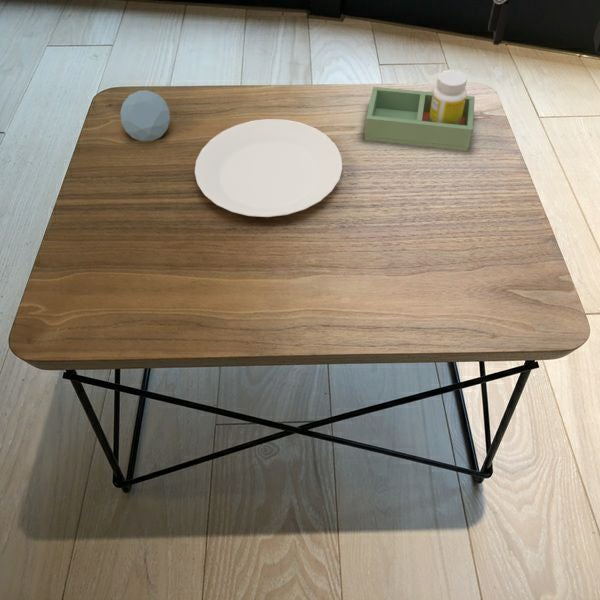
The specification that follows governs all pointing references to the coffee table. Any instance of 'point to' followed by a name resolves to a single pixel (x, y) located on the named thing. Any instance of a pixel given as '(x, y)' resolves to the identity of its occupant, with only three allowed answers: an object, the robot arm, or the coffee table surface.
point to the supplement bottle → (448, 98)
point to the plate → (268, 167)
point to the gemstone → (145, 115)
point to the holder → (414, 120)
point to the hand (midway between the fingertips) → (546, 42)
